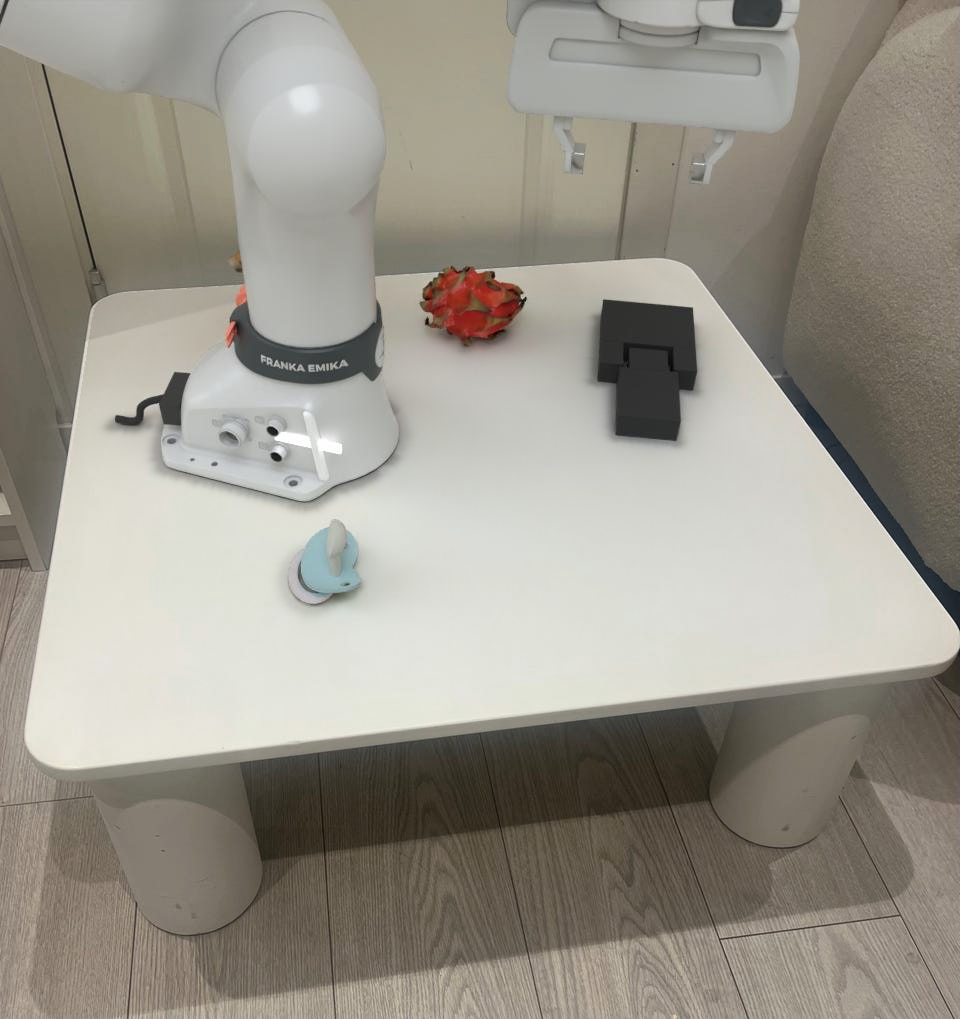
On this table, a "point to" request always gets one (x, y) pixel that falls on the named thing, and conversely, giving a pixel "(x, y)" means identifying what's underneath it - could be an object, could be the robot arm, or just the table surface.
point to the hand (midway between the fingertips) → (635, 175)
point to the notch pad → (647, 337)
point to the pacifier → (325, 564)
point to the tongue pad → (647, 396)
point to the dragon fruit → (471, 303)
